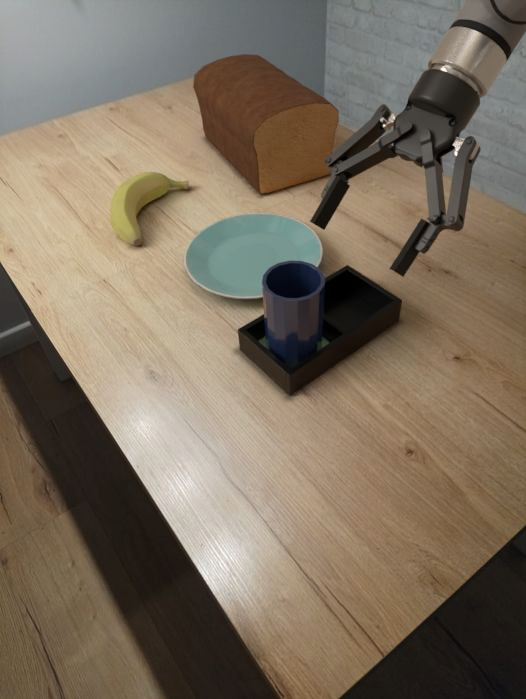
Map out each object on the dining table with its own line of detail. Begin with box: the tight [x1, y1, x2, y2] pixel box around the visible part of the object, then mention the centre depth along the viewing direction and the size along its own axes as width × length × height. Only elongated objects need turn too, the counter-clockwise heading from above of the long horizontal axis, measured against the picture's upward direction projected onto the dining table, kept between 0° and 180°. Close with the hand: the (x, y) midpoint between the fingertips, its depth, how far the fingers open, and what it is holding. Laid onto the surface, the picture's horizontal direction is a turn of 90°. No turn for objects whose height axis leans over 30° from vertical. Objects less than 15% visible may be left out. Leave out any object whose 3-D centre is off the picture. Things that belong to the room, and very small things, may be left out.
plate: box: [183, 212, 324, 300], centre depth 83 cm, size 22×22×3 cm
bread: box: [192, 53, 340, 195], centre depth 103 cm, size 18×30×16 cm, turn 26°
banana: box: [110, 171, 190, 247], centre depth 95 cm, size 14×6×20 cm
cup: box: [262, 261, 326, 369], centre depth 65 cm, size 7×7×12 cm
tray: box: [237, 264, 404, 397], centre depth 71 cm, size 11×20×4 cm, turn 129°
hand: (354, 248), depth 65 cm, fingers open, 13 cm apart
